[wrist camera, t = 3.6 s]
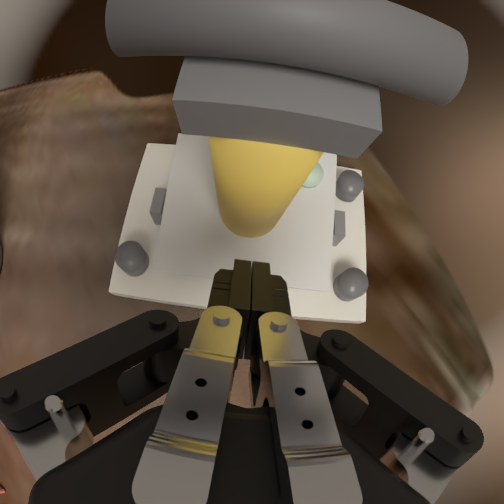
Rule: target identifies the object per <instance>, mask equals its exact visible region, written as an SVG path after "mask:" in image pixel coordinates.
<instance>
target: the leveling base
mask: <svg viewBox="0 0 504 504" xmlns="http://www.w3.org/2000/svg"><path fill="white" fill-rule="evenodd" d="M175 147H176V145H171V144H154V143H148V144H147V147H146V150H145V153H144V156H143V159H142V162H141V165H140V168H139V172H138V175H137V178H136V181H135V185H134V188H133V192H132V195H131V199H130V202H129V206H128V209H127V213H126V217H125V221H124V225H123V228H122V232H121V237H120V241H119V245H118V248H117V250H116V253H115V263H114V267H113V272H112V277H111V282H110V287H109V292H110V293H111V294H113V295H116V296H122V297H127V298H133V299H140V300H146V301H152V302H159V303H166V304H172V305H179V306H186V307H194V308H201V309H207V306H208V301H209V297H210V292H211V288H212V283H213V279H209V278H201V277H193V276H185V275H178V274H170V273H163V272H156V271H154V266H155V259H156V252H157V245H158V238H159V232H160V226H161V220H162V214H163V208H164V202H165V197H166V191H167V186H168V181H169V176H170V171H171V166H172V161H173V156H174V151H175ZM363 188H364V180H363V178H362V173H361V170H356V169H351V168H346V167H341V166H336V193H335V213H334V229H333V244H332V256H331V268H330V279H329V290H328V291H315V290H305V289H295V288H287V289H288V295H289V296H288V297H289V302H290V308H291V315H292V317H293V318H294V319H303V320H315V321H328V322H342V323H358V324H359V323H363V322H366V291H367V289H368V278H367V276H366V239H365V216H364V199H363Z"/></svg>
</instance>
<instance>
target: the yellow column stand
mask: <svg viewBox="0 0 504 504" xmlns="http://www.w3.org/2000/svg"><path fill="white" fill-rule="evenodd" d="M105 27H106V35H107V39H108V42H109V45H110V47H111V49H112V51H113V52H114V53H115V54H116V55H118V56H120V57H125V56H126V57H127V56H157V55H161V56H164V55H167V56H169V55H171V56H172V55H173V56H185V58H184V61H183V65H182V68H181V71H180V74H179V78H178V81H177V85H176V88H175V91H174V95H173V98H172V101H173V105H174V108H175V112H176V115H177V118H178V122H179V125H180V129H181V132H182V133H178V138H177V142H176V147H175V151H174V156H173V161H172V166H171V171H170V176H169V181H168V186H167V191H166V197H165V202H164V208H163V214H162V220H161V226H160V232H159V238H158V245H157V252H156V259H155V266H154V271H156V272H163V273H170V274H178V275H185V276H193V277H201V278H209V279H214V274H215V273H216V272H218V271H219V270H220V269H228V270H233V267H234V260H235V259H240V260H249V261H251V268H252V262H253V261H257V262H266V263H270V272H271V275H279V276H281V277H282V278H283V279H284V280H285V281H286V283H287V288H295V289H305V290H315V291H328V290H329V279H330V268H331V256H332V244H333V229H334V213H335V193H336V165H337V155H341V156H346V157H351V158H356V159H357V158H358V157H359V156H360V155H361V154H362V153H363V152H364V151H365V150H366V148H367V147H368V146H369V145H370V144H371V143H372V142H373V141H374V140H375V139H376V138H377V137H378V135H379V134H380V133H381V132H382V120H381V107H380V96H379V86H380V87H384V88H387V89H390V90H394V91H397V92H400V93H403V94H406V95H409V96H412V97H415V98H418V99H420V100H423V101H426V102H429V103H431V104H434V105H437V106H440V105H445V104H447V103H449V102H450V101H451V100H452V99H453V98H454V97H455V96H456V95H457V94H458V92H459V91H460V89H461V87H462V85H463V83H464V80H465V77H466V73H467V68H468V49H467V45H466V42H465V40H464V38H463V36H462V35H461V34H460V33H459V32H458V31H457V30H455V29H453V28H451V27H449V26H447V25H445V24H442V23H441V22H439V21H436V20H434V19H432V18H430V17H427V16H425V15H423V14H421V13H418V12H416V11H413V10H411V9H408V8H406V7H403V6H401V5H398V4H395V3H392V2H390V1H387V0H108V1H107V6H106V14H105Z"/></svg>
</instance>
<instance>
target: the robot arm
mask: <svg viewBox="0 0 504 504" xmlns="http://www.w3.org/2000/svg"><path fill="white" fill-rule="evenodd" d="M1 265H2V248H1V244H0V271H1ZM288 296H289V295H288V289H287V283H286V281H285V280H284V279H283V278H282V277H281V276H279V275H271V272H270V263H266V262H257V261H253V262H252V268H251V261H249V260H240V259H235V260H234V267H233V270H228V269H220V270H219V271H218V272H216V273H215V274H214V279H213V283H212V288H211V292H210V297H209V301H208V306H207V309H205V310H204V311H203V313H202V315H201V317H200V318H198V319H196V320H192V321H186V322H178V319H177V317H176V316H175V315H174V314H172V313H170V312H168V311H164V310H151V311H147V312H145V313H143V314H140V315H138V316H136V317H134V318H132V319H130V320H127V321H125V322H123V323H121V324H119V325H117V326H114V327H112V328H110V329H108V330H106V331H103V332H101V333H99V334H97V335H95V336H93V337H90V338H88V339H86V340H84V341H82V342H79V343H77V344H75V345H73V346H71V347H68V348H66V349H64V350H62V351H60V352H57V353H55V354H53V355H51V356H49V357H46V358H44V359H42V360H40V361H37V362H35V363H33V364H31V365H29V366H26V367H24V368H22V369H20V370H17V371H15V372H13V373H11V374H8V375H6V376H4V377H2V378H0V421H1V423H2V425H3V426H4V428H5V429H6V430H7V432H8V433H9V434H10V436H11V437H12V438H13V439H14V441H15V442H16V444H17V446H18V448H19V450H20V452H21V454H22V456H23V458H24V460H25V461H26V463H27V465H28V467H29V469H30V470H31V472H32V474H33V476H34V477H35V479H36V481H37V482H36V483H35V484H34V486H33V488H32V490H31V493H30V496H29V503H28V504H434V503H435V501H436V500H437V499H438V497H439V496H440V494H441V493H442V491H443V490H444V488H445V487H446V485H447V484H448V482H449V480H450V479H451V478H452V476H453V474H454V473H455V471H457V470H458V469H459V468H460V467H461V466H462V465H464V464H465V463H466V462H467V461H468V460H469V459H470V458H471V457H472V456H473V455H474V454H475V453H477V452H478V451H479V450H480V449H481V447H482V445H483V442H484V436H483V433H482V430H481V429H480V427H479V426H478V425H477V424H476V423H475V422H474V421H472V420H471V419H469V418H468V417H466V416H465V415H464V414H462V413H461V412H459V411H458V410H456V409H455V408H454V407H452V406H451V405H449V404H448V403H447V402H445V401H444V400H442V399H441V398H439V397H438V396H437V395H435V394H434V393H432V392H431V391H430V390H428V389H427V388H425V387H424V386H422V385H421V384H420V383H418V382H417V381H415V380H414V379H413V378H411V377H410V376H408V375H407V374H406V373H404V372H403V371H401V370H400V369H399V368H397V367H396V366H394V365H393V364H392V363H390V362H389V361H387V360H386V359H385V358H383V357H382V356H380V355H379V354H378V353H376V352H375V351H373V350H372V349H371V348H369V347H368V346H366V345H365V344H364V343H362V342H361V341H359V340H358V339H357V338H355V337H354V336H352V335H351V334H349V333H347V332H345V331H342V330H328V331H325V332H324V333H323V334H322V335H321V338H320V337H317V336H313V335H310V334H307V333H305V332H303V331H301V330H300V329H299V326H298V323H297V321H296V320H295V319H294V318H293V317H292V315H291V308H290V302H289V297H288ZM244 345H245V350H244ZM243 351H244V359H250V369H249V376H248V377H249V390H250V402H251V408H243V407H240V406H236V405H233V404H230V403H229V401H230V396H231V390H232V384H233V379H234V373H235V370H236V368H237V365H238V358H239V359H242V358H243ZM141 362H142V363H141ZM139 363H140V364H139ZM137 364H139V365H137ZM135 365H137V366H135ZM133 366H135V367H133ZM131 367H133V368H131ZM130 368H131V369H130ZM128 369H129V370H128ZM126 370H128V371H126ZM124 371H126V372H124ZM123 372H124V373H123ZM345 380H347V381H348V382H349V383H350V384H352V385H353V386H354V387H355V388H357V389H358V390H359V391H360V392H362V393H363V394H364V395H365V396H366V397H367V399H368V402H369V405H367V404H366V403H365V402H363V401H362V400H361V399H360V398H358V397H357V396H356V395H355V394H353V393H352V392H351V391H350V390H348V389H347V388H346V387H345V386H343V383H344V381H345ZM167 392H168V394H167V397H166V399H165V402H164V405H160V406H157V407H154V408H151V409H149V410H147V411H145V412H143V413H142V414H140V415H139V416H137V417H136V418H134V419H133V420H131V421H130V422H128V423H127V424H125V425H123V426H122V427H120V428H119V429H117V430H116V431H114V432H113V433H111V434H109V435H108V436H106V437H105V438H103V439H102V440H100V441H98V442H97V443H95V444H93V437H94V436H96V435H98V434H99V433H101V432H103V431H105V430H106V429H108V428H110V427H111V426H113V425H115V424H117V423H118V422H120V421H122V420H123V419H125V418H127V417H128V416H130V415H132V414H133V413H135V412H137V411H138V410H140V409H142V408H143V407H145V406H146V405H148V404H150V403H151V402H153V401H154V400H156V399H158V398H159V397H161V396H162V395H164V394H166V393H167Z"/></svg>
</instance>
